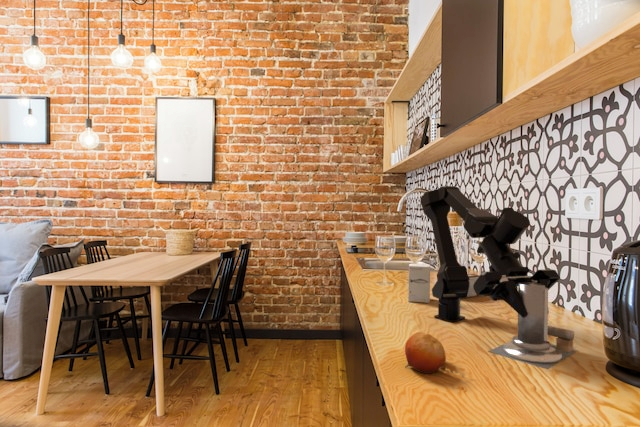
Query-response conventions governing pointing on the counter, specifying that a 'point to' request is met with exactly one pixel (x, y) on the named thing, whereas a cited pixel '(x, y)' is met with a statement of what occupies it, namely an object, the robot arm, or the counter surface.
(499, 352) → the board
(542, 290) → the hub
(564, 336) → the bar handle
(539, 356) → the flange disc
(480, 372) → the counter surface
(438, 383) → the counter surface
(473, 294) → the tin
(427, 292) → the supplement box
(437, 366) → the fruit
